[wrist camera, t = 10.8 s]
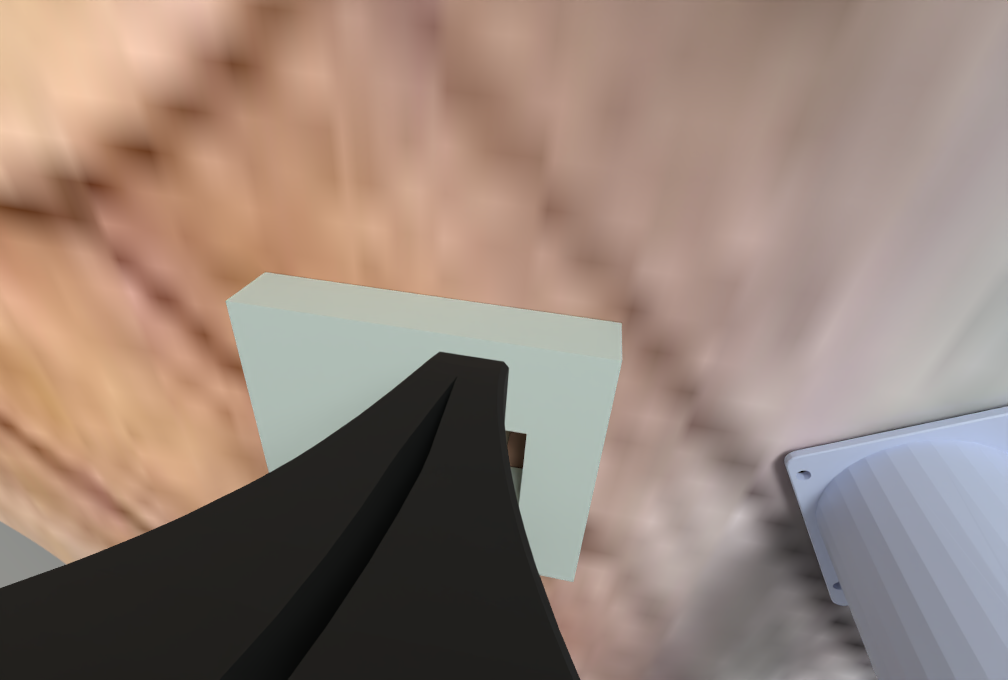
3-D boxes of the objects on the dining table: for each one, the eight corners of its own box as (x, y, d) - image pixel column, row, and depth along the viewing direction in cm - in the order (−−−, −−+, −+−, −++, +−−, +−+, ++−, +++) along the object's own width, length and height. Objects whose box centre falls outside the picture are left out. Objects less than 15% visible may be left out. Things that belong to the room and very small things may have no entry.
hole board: (621, 323, 19) (621, 361, 17) (577, 535, 25) (573, 581, 23) (265, 272, 21) (225, 300, 19) (307, 483, 27) (281, 522, 25)
